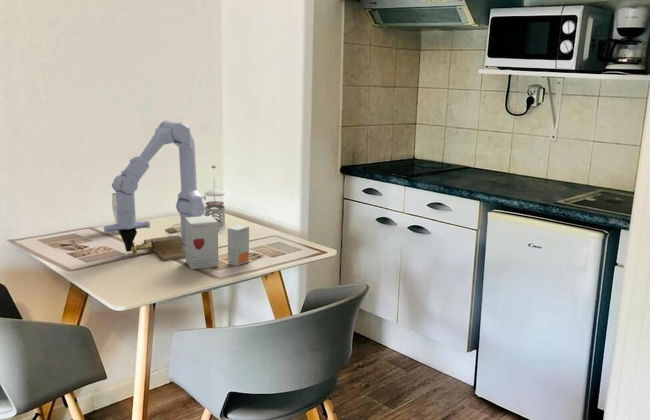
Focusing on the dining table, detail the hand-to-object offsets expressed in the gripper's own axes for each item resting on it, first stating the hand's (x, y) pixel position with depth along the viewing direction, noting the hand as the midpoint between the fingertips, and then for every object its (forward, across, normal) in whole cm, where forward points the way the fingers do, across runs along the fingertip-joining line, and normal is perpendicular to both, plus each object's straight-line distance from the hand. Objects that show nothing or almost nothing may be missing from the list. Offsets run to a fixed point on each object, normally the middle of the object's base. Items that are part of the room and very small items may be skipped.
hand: (128, 250), depth 199 cm
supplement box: (+2, +18, -21) cm, 28 cm away
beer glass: (+2, +5, +30) cm, 30 cm away
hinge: (+1, +13, 0) cm, 13 cm away
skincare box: (+2, +29, -25) cm, 38 cm away
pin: (+1, +7, 0) cm, 7 cm away
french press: (+2, +38, +22) cm, 44 cm away
